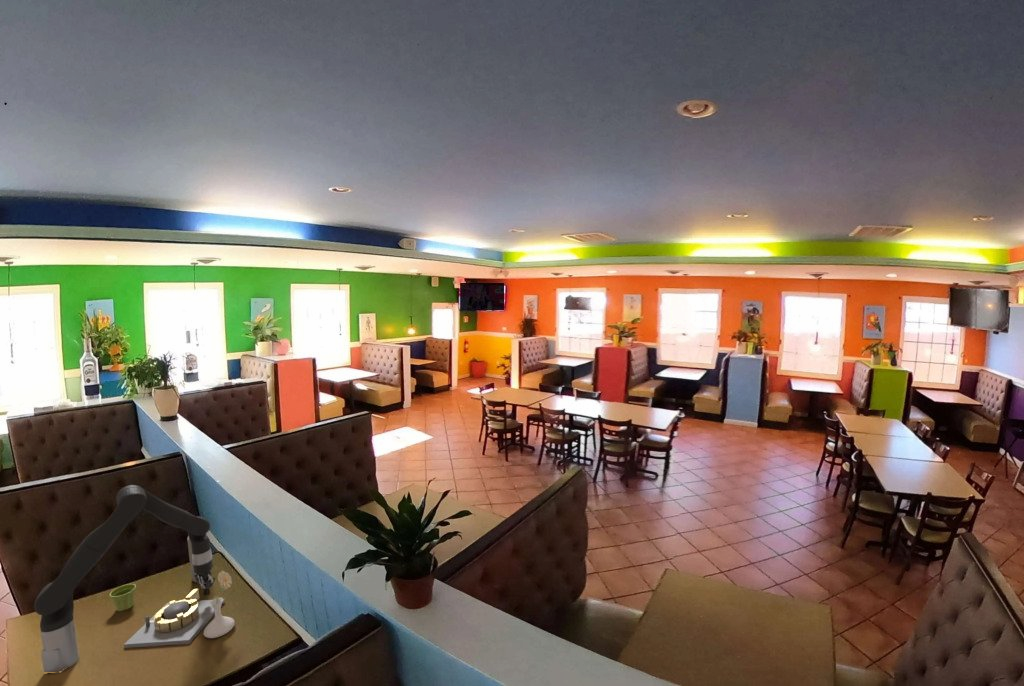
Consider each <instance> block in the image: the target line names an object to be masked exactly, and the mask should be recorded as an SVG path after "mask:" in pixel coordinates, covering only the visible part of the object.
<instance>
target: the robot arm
mask: <svg viewBox="0 0 1024 686" xmlns="http://www.w3.org/2000/svg"><path fill="white" fill-rule="evenodd" d="M116 504H117V505H116V508H115V509H114V510H113V512H112V513H111V514H110V516H109V517H108V519H107V520H106V521H105V522H104V523H102V524H101V525H99V526H98V527H96V528H95V529H94V530H92V531H91V532H89V534H88V535H86V537H84V539H83V540H82V541H81V543H80V544H79V545H78V546H77V547H76V549H75V550H74V552H73V553H72V554H71V556H70V557H69V558H68V560H67V562H66V563H65V565H64V567H63V568H62V570H61V572H60V573H59V574H58V576H57V577H56V578H55V579H54V580H53V581H52V582H49V583H48V584H46V585H45V586H44V587H42V589H41V591H39V594H38V595H37V597H36V599H35V600H34V604H33V609H34V611H35V613H36V614H38V615H40V617H41V619H40V622H39V628H40V629H39V630H40V635H41V642H42V648H43V649H42V650H41V651H40V652H41V653H40V654H41V662H42V668H43V673H44V672H59V671H62V670H63V669H65V668H68V667H69V668H71V667H73V666H74V665H75V664H76V663H77V662H78V661H79V659H80V656H79V649H78V647H79V646H78V641H77V633H76V626H75V619H74V609H75V606H74V605H75V604H74V595H73V592H74V591H75V589H76V588H77V586H78V585H79V584H80V582H81V581H82V580H83V579H84V578H85V577H86V576H87V575H88V573H89V572H90V571H91V570H92V569H93V568H94V567H95V565H97V563H99V561H100V560H101V559H102V557H103V556H104V555H105V554H106V553H107V551H108V550H109V549H111V548H110V547H111V546H112V545H113V544H114V543H115V541H116V540H117V539H118V537H119V536H120V535H121V534H122V532H123V530H124V529H125V528H126V527H127V526H128V524H130V522H132V520H133V519H135V517H136V516H137V515H138V514H140V512H141V511H142V510H143V511H145V512H147V513H150V514H151V515H153V516H154V517H156V518H157V519H158V520H160V521H161V522H163V523H166V524H168V525H170V526H173V527H174V528H179V529H182V530H183V531H186V532H187V535H188V536H189V538H190V541H191V546H192V561H193V569H194V573H196V574H195V575H194V576H195V578H196V580H197V582H196V583H197V584H198V587H201V589H202V595H203V596H204V597H207V596H209V595H210V593H211V591H210V590H211V589H210V588H211V587H213V585H214V583H215V582H216V581H215V580H216V578H215V577H212V571H211V570H212V569H213V568H214V562H213V552H212V549H211V541H210V537H209V536H208V534H207V533H208V532H209V531H210V530H211V524H210V521H208V520H207V519H205V518H204V517H202V516H196V515H194V514H192V513H190V512H188V511H187V510H185V509H182V508H180V507H178V506H176V505H172V504H171V503H168V502H166V501H164V500H162V499H160V498H158V497H157V496H155V495H153V494H152V493H150V492H148V491H147V490H146V489H144V488H143V487H141V486H139V485H136V484H130V485H126V486H124V487H122V488H121V489H119V491H118V492H117V494H116ZM70 666H71V667H70ZM69 668H68V669H69ZM62 672H63V671H62Z"/></svg>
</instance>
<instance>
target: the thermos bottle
mask: <svg viewBox="0 0 1024 686" xmlns="http://www.w3.org/2000/svg"><path fill="white" fill-rule="evenodd" d="M187 549H188V557H189V568H190V577H191V578H190V579H191V581H192V582H193V581H194V582H193V583H198V582H197V580H196V578H195V576H194V575H195V574H196V573H194V569H193V561H192V546H191V541H190V538H189V535H188V536H187Z"/></svg>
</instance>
